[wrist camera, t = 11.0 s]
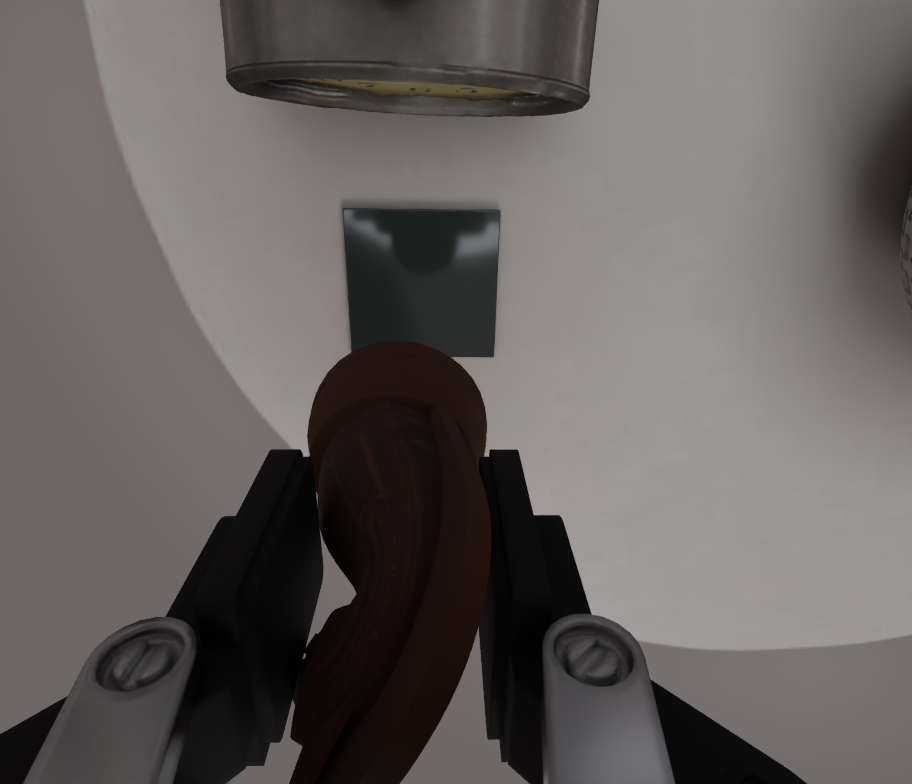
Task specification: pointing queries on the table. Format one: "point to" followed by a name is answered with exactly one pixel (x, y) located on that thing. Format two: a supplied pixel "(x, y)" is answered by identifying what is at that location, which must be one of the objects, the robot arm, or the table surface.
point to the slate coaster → (423, 277)
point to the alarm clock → (414, 54)
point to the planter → (907, 250)
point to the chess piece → (393, 559)
